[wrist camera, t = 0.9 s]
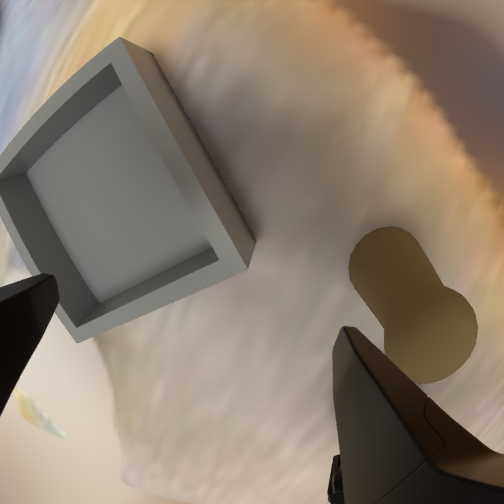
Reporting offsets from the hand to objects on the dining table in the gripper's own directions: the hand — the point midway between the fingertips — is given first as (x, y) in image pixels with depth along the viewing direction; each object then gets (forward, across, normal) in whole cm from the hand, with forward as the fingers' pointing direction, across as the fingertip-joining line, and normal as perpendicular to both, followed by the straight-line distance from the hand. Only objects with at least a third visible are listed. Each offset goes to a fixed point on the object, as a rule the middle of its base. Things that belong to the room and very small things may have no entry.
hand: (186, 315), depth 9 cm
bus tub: (+15, +9, +2) cm, 17 cm away
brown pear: (+14, -12, +3) cm, 18 cm away
